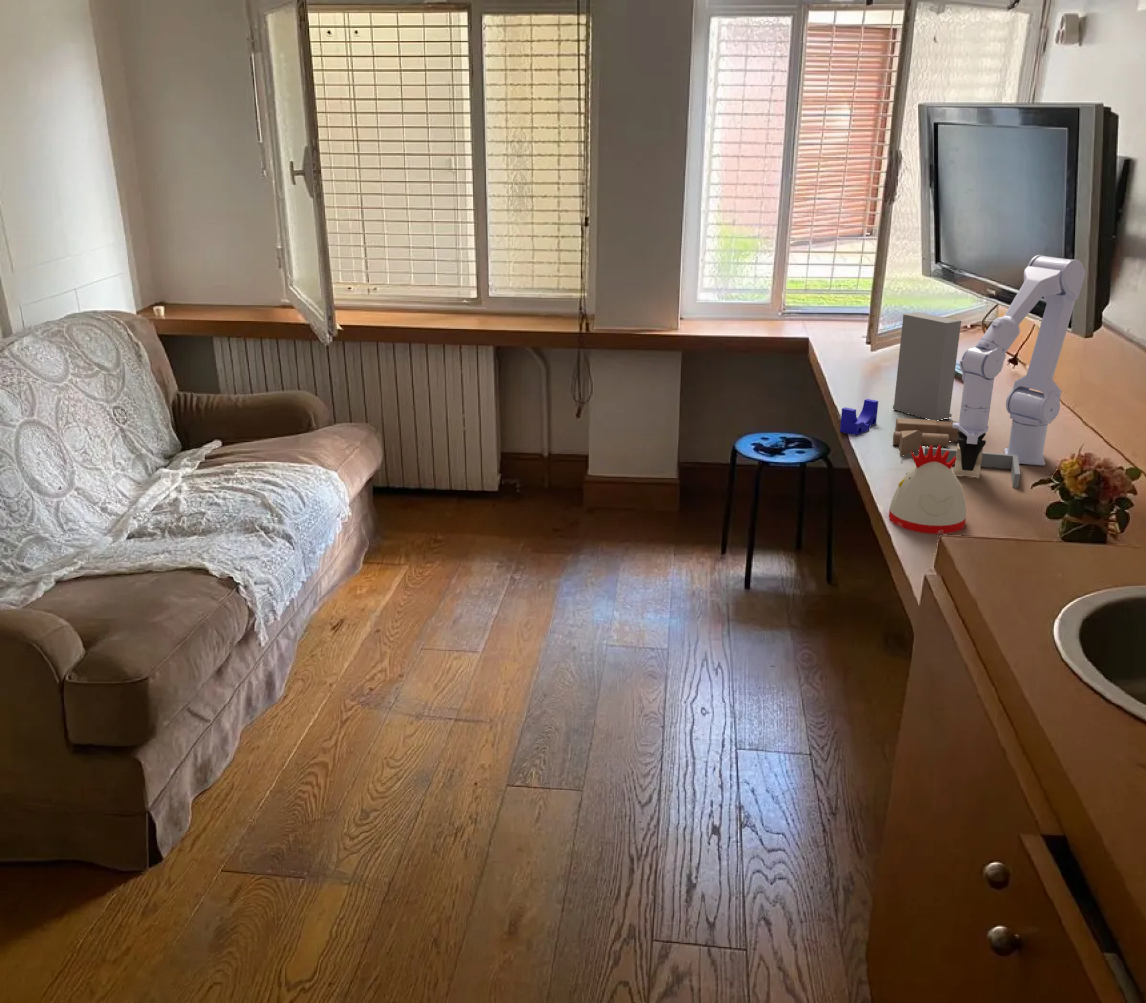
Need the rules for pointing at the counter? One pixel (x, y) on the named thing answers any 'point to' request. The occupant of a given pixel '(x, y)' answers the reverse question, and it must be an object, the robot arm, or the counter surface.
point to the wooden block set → (922, 434)
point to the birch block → (959, 470)
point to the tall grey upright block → (926, 365)
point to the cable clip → (859, 418)
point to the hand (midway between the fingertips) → (967, 466)
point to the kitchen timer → (929, 496)
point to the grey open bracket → (990, 461)
